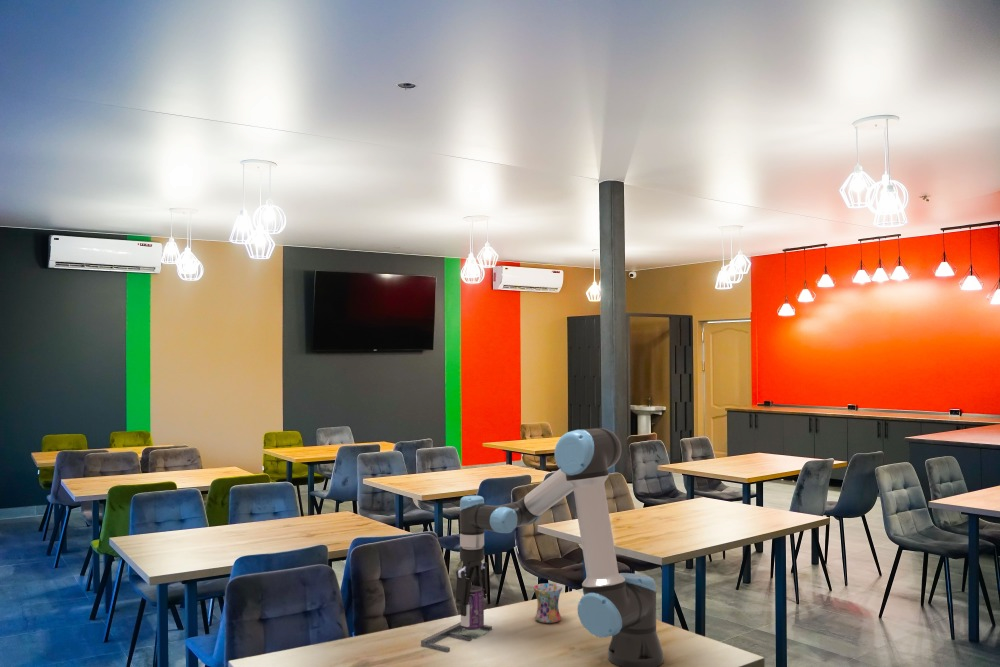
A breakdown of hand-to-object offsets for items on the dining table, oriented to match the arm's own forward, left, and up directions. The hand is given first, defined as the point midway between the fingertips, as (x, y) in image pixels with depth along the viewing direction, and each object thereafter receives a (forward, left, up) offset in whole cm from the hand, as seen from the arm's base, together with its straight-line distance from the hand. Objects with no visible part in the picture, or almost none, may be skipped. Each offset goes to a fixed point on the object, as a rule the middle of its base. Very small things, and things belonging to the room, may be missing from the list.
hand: (472, 622), depth 235 cm
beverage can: (0, 0, -2) cm, 2 cm away
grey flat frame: (+1, +5, -3) cm, 7 cm away
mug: (-13, -25, -4) cm, 28 cm away
